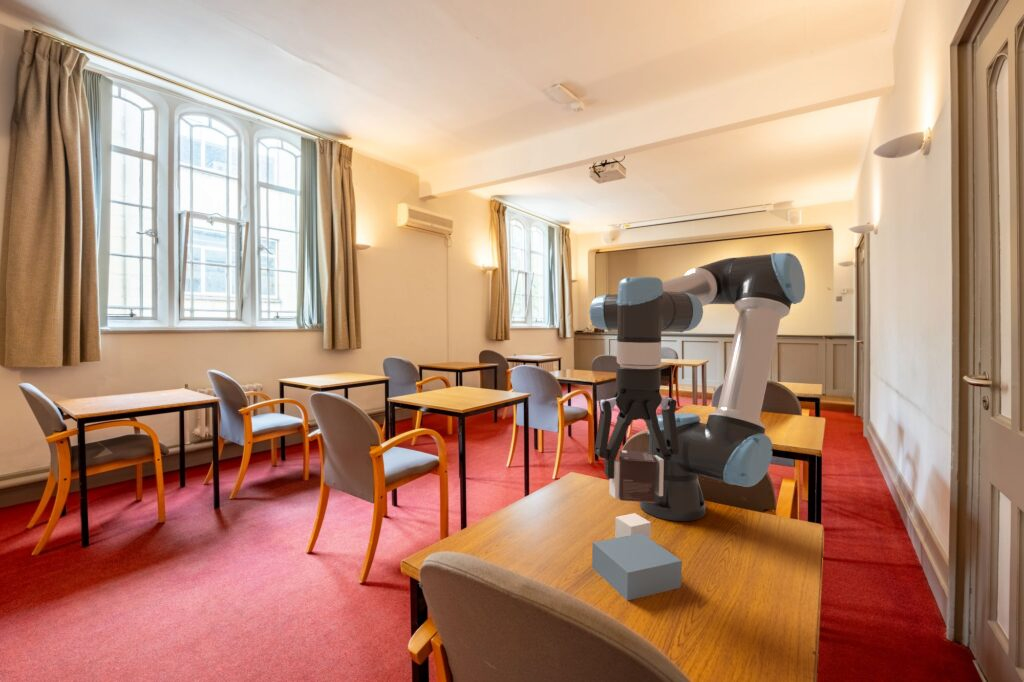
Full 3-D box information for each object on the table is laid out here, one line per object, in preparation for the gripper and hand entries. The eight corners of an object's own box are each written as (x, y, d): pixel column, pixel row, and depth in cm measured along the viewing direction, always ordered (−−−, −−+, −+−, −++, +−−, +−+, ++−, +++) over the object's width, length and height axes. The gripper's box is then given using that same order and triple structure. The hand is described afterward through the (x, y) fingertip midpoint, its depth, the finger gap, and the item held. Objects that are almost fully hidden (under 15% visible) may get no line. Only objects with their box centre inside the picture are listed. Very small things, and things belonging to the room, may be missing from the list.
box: (655, 504, 79) (656, 461, 79) (619, 501, 80) (619, 459, 80) (651, 491, 85) (652, 451, 85) (617, 488, 86) (618, 449, 86)
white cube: (634, 536, 99) (634, 513, 99) (650, 546, 95) (650, 522, 95) (615, 540, 97) (615, 517, 97) (630, 551, 93) (631, 526, 93)
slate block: (641, 558, 91) (642, 533, 90) (681, 589, 80) (681, 560, 80) (592, 568, 87) (592, 542, 86) (627, 602, 76) (627, 572, 76)
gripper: (680, 363, 87) (677, 484, 88) (576, 364, 84) (574, 490, 85) (703, 367, 80) (700, 499, 81) (590, 369, 76) (588, 506, 77)
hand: (635, 494), depth 83 cm, fingers closed on box, 7 cm apart
